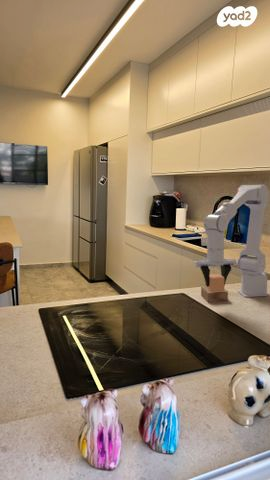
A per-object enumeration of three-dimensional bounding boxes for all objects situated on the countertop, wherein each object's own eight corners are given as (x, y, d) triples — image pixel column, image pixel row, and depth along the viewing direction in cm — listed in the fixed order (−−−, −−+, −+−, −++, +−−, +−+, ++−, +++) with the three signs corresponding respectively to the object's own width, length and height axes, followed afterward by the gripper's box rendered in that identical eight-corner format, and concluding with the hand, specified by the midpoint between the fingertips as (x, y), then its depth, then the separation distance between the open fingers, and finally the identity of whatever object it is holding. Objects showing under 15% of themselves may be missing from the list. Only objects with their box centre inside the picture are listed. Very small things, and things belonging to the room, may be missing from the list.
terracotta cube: (219, 287, 121) (220, 273, 120) (224, 291, 116) (224, 277, 115) (206, 287, 121) (206, 274, 120) (210, 292, 116) (210, 278, 115)
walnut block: (220, 294, 135) (220, 285, 134) (227, 301, 127) (227, 291, 127) (201, 296, 134) (201, 286, 134) (207, 302, 126) (207, 292, 126)
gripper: (198, 251, 112) (198, 290, 114) (239, 249, 112) (239, 287, 115) (193, 247, 119) (193, 283, 121) (232, 245, 119) (232, 282, 122)
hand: (215, 285), depth 118 cm, fingers closed on terracotta cube, 5 cm apart
